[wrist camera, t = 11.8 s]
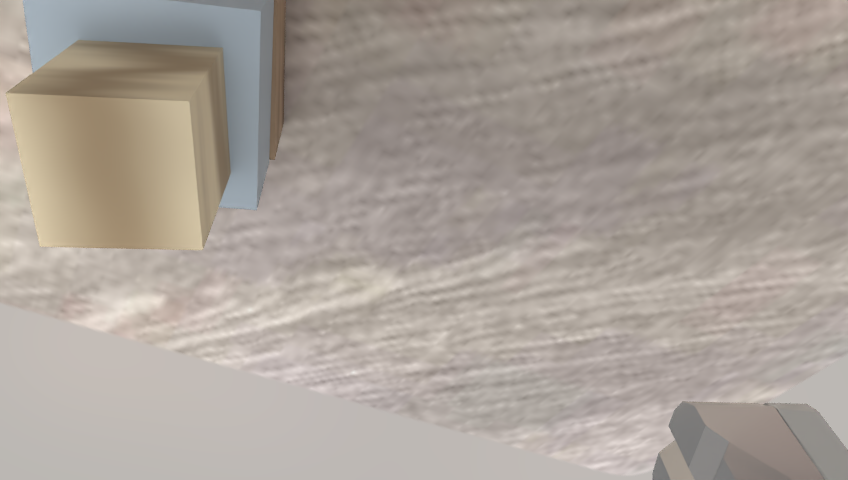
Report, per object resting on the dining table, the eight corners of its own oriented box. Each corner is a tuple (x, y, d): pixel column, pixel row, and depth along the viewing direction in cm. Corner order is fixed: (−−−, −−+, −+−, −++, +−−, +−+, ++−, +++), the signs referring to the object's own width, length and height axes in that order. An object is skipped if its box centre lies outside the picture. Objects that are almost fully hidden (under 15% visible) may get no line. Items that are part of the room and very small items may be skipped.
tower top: (274, -15, 29) (260, 11, 25) (269, 161, 33) (256, 210, 29) (71, -40, 28) (20, -18, 24) (91, 145, 32) (49, 194, 28)
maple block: (222, 47, 25) (189, 101, 20) (231, 173, 28) (202, 250, 23) (78, 39, 25) (5, 92, 20) (99, 169, 27) (39, 246, 22)
